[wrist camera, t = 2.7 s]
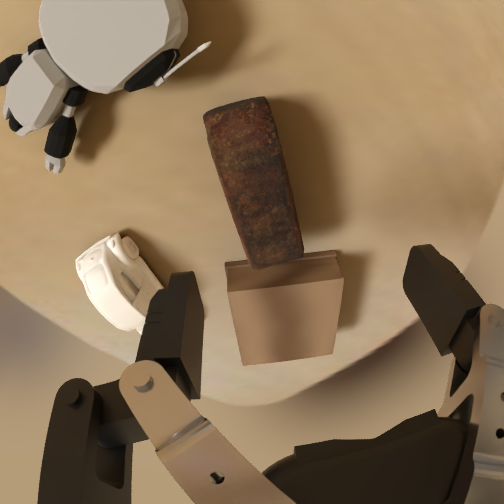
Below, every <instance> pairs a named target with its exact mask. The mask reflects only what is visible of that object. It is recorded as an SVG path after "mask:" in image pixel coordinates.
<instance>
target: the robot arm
mask: <svg viewBox="0 0 504 504" xmlns="http://www.w3.org/2000/svg"><path fill="white" fill-rule="evenodd" d="M403 288H404V292H405V294H406V295H407V297H408V299H409V300H410V302H411V304H412V305H413V307H414V309H415V310H416V312H417V314H418V315H419V317H420V319H421V320H422V322H423V324H424V325H425V327H426V329H427V331H428V333H429V334H430V336H431V338H432V340H433V341H434V343H435V345H436V347H437V349H438V351H439V352H440V354H441V356H444V355H447V354H450V353H453V354H454V357H453V359H452V361H451V366H450V372H449V377H448V383H447V388H446V393H445V397H444V401H443V404H442V407H441V408H440V410H439V412H438V414H437V413H436V411H435V409H433V410H431V411H428V412H426V413H423V414H420V415H418V416H415V417H412V418H409V419H406V420H404V421H403V422H401V423H400V424H398V425H397V426H395V427H393V428H392V429H390V430H388V431H387V432H385V433H384V434H382V435H380V436H378V437H376V438H374V439H361V440H360V439H358V440H357V439H355V440H340V439H339V440H337V439H334V440H328V441H323V442H318V443H312V444H306V445H300V446H295V447H294V454H293V455H290V456H287V457H285V458H283V459H281V460H279V461H277V462H276V463H274V464H273V465H271V466H270V467H268V468H267V469H266V470H265V471H263V472H262V473H260V472H259V471H258V470H257V469H256V468H255V467H254V466H253V465H252V464H251V463H250V462H249V461H248V460H247V459H246V458H245V457H244V456H243V455H242V454H241V453H240V452H238V450H237V449H236V448H235V447H234V446H233V445H232V444H231V443H230V442H229V441H228V440H227V439H226V438H225V437H224V436H223V435H222V434H221V433H220V432H219V430H218V429H217V428H216V427H215V426H214V425H213V424H212V423H211V422H210V421H209V420H207V419H206V418H204V417H203V416H202V415H201V414H200V413H199V412H198V411H197V410H196V408H195V407H194V406H193V405H192V404H191V402H190V401H191V399H200V391H201V367H202V347H203V330H204V310H203V304H202V300H201V297H200V293H199V289H198V285H197V282H196V278H195V274H194V272H193V271H190V272H180V273H172V274H171V276H170V281H169V285H168V289H159V290H158V291H157V292H156V293H155V295H154V296H153V297H152V299H151V300H150V303H149V307H148V311H147V315H146V319H145V324H144V327H143V331H142V335H141V339H140V343H139V348H138V352H137V357H136V360H135V363H133V364H131V365H130V366H128V367H127V368H126V369H125V371H124V372H123V373H122V375H121V377H120V379H118V380H116V381H113V382H110V383H106V384H102V385H99V386H94V387H93V386H92V385H91V384H90V383H89V382H88V381H86V380H84V379H81V378H75V379H71V380H69V381H67V382H65V383H64V384H63V385H62V386H61V387H60V388H59V390H58V392H57V394H56V397H55V401H54V405H53V409H52V413H51V418H50V422H49V427H48V432H47V437H46V442H45V448H44V454H43V460H42V467H41V474H40V482H39V492H38V504H131V479H132V453H133V443H136V442H140V441H144V440H148V439H150V440H151V442H152V443H153V445H154V447H155V448H156V450H155V451H156V454H157V456H158V457H159V459H160V460H161V462H162V463H163V464H164V466H165V467H166V469H167V470H168V471H169V473H170V474H171V475H172V476H173V478H174V479H175V480H176V482H177V483H178V484H179V485H180V486H181V488H182V489H183V490H184V491H185V493H186V494H187V495H188V496H189V497H190V499H191V500H192V501H193V502H194V503H195V504H504V309H503V308H501V307H499V306H497V305H494V304H487V305H486V304H485V302H484V301H483V300H482V298H481V297H480V296H479V294H478V293H477V292H476V291H475V290H474V288H473V287H472V286H471V285H470V283H469V282H468V281H467V280H465V277H464V276H463V274H462V273H460V271H459V270H458V268H457V267H456V266H455V265H454V264H453V263H452V262H451V261H450V260H448V259H447V258H445V257H444V256H442V255H440V253H439V252H438V251H437V250H436V249H435V248H434V247H433V246H432V245H431V244H426V245H418V246H413V247H412V248H411V250H410V253H409V257H408V261H407V265H406V269H405V273H404V277H403Z"/></svg>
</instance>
